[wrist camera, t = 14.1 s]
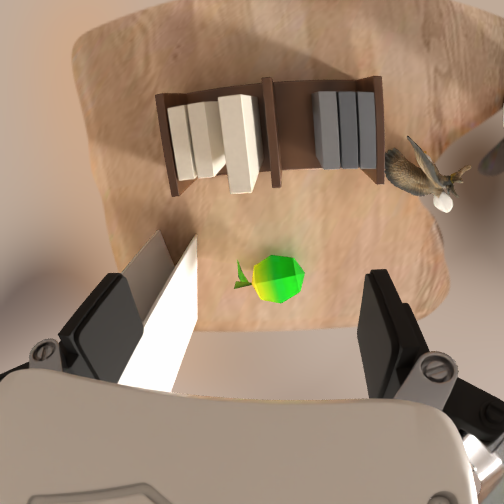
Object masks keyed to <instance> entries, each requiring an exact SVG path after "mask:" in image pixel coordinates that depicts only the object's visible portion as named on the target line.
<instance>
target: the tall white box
mask: <svg viewBox="0 0 504 504" xmlns="http://www.w3.org/2000/svg"><path fill="white" fill-rule="evenodd" d="M121 274H122V275H123V276H124V277H126V278H127V281H128V284H129V287H130V290H131V293H132V296H133V299H134V302H135V304H136V307H137V310H138V313H139V316H140V318H141V321H142V324H143V327H144V333H143V336H142V338H141V339H140V341H139V343H138V345H137V347H136V349H135V351H134V353H133V355H132V356H131V358H130V360H129V362H128V364H127V366H126V368H125V370H124V372H123V374H122V376H121V378H120V380H119V382H118V384H121V385H127V386H133V387H139V388H145V389H151V390H158V391H165V392H171V390H172V387H173V384H174V381H175V379H176V376H177V373H178V370H179V368H180V365H181V362H182V359H183V356H184V354H185V351H186V348H187V345H188V343H189V340H190V337H191V335H192V332H193V329H194V326H195V324H196V321H197V235H195V236H194V237H193V239H192V240H191V242H190V244H189V245H188V247H187V249H186V250H185V252H184V253H183V255H182V257H181V258H180V260H179V262H178V263H177V265H176V267H175V266H174V264H173V262H172V259H171V257H170V254H169V252H168V249H167V247H166V244H165V242H164V239H163V237H162V234H161V232H160V230H157V231H156V232H155V233H154V235H153V236H152V237H151V238H150V239H149V240H148V242H147V243H146V244H145V245H144V246H143V247H142V249H141V250H140V251H139V252H138V253H137V254H136V256H135V257H134V258H133V259H132V260H131V262H130V263H129V264H128V265H127V266H126V268H125V269H124V270H123V271H122V273H121Z"/></svg>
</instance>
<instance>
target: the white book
mask: <svg viewBox="0 0 504 504" xmlns="http://www.w3.org/2000/svg"><path fill="white" fill-rule="evenodd" d="M218 103H219V111H220V120H221V127H222V135H223V143H224V151H225V159H226V166H227V174H228V182H229V189H230V194H238V193H251V192H252V191H253V188H254V185H255V182H256V179H257V176H258V174H259V171H260V168H261V165H262V162H263V159H264V155H263V145H262V135H261V125H260V115H259V106H258V97H254V96H248V95H242V94H237V95H229V96H222V97H218Z"/></svg>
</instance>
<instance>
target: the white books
mask: <svg viewBox="0 0 504 504" xmlns="http://www.w3.org/2000/svg"><path fill="white" fill-rule="evenodd" d="M168 116H169V123H170V130H171V136H172V143H173V149H174V155H175V161H176V167H177V173H178V178H179V181H180V180H189V179H195V178H196V177H197V176H198V178H207V177H214V176H215V175H216V174H217V173H218V172H219V171H220V170H221V169H222V167H223V166H224V165H225V164H226V159H225V151H224V143H223V135H222V127H221V120H220V111H219V103H218V101H209V102H199V103H193V104H188V105H181V106H176V107H171V108H168Z"/></svg>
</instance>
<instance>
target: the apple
mask: <svg viewBox="0 0 504 504" xmlns="http://www.w3.org/2000/svg"><path fill="white" fill-rule="evenodd" d="M237 262H238V259H237ZM304 274H305V272H304V271H303V270H302V268H301V267H300V266H299V264H298V263H297V261H296V260H295V259H294V258H290V257H283V256H275V255H270V256H269V257H267V258H266V259H264V260H263V261H261V262H260V263H258V264H257V265H255V266H254V270H253V277H252V283H249V282H248V280H247V279H246V277H245V276H244V274H243V272H242V270H241V267H240V265H239V262H238V277H239V279H240V281H241V282H239V281H236V283H235V287H234V289H236V288H240V287H245V286H249V285H253V287H254V289H255V290H256V292H257V294H258V296H259V297H260V299H261V300H265V301H271V302H276V303H283V302H284V301H286V300H288V299H289V298H291V297H293V296H294V295H296V294H297V293H299V292H300V291H301V287H302V283H303V278H304Z"/></svg>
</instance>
